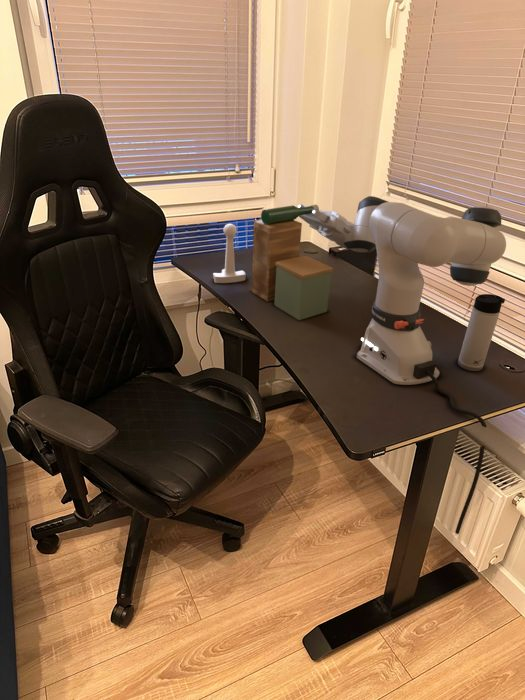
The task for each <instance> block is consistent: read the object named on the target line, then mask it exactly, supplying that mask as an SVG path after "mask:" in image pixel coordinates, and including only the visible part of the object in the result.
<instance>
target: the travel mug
mask: <svg viewBox="0 0 525 700" xmlns="http://www.w3.org/2000/svg"><path fill="white" fill-rule="evenodd" d="M505 302H506V298H503V297H502V296H500V295H496V294H492V293H491V294H490V293H483V294H482V293H481V294H478V296H476V297H475V298H474V303H473V306H472V309H471V313H470V316H469V320H468V322H467V323H468V324H467V327H466V331H465V335H464V339H463V342H462V346H461V348H460V352H459V356H458V359H457V364H458V366H459V367H460V368H462V369H464V370H466V371H469V372H480V371H481V370H483V369H484V365H485V361H486V358H487V355H488V352H489V348H490V346H491V342H492V339H493V336H494V332H495V329H496V325H497V322H498V319H499V316H500V313H501V308H502V305H503V304H504V303H505Z"/></svg>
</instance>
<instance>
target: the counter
mask: <svg viewBox="0 0 525 700" xmlns="http://www.w3.org/2000/svg"><path fill="white" fill-rule="evenodd" d="M275 265H276V266H277V268H276V285H275V300H274V304H273V305H274V306H275V307H276V308H278V309H280V310H281V311H283V312H285V313H286V314H288V315H290V316H291V317H293V318H294V319H296V320H298V321H301V320H304V319H307V318H312V317H314V316H317V315H320V314H324V313H328V305H329V298H330V297H329V296H330V289H331V279H332V272H334V268H333V267H332V266H329V265H327V264H326V263H323V262H321V261H318V260H317V259H315V258H312V257H310V256H308V255H301V256H300V255H299V257H296V258H291V259H287V260H282V261H278V262H275Z"/></svg>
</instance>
